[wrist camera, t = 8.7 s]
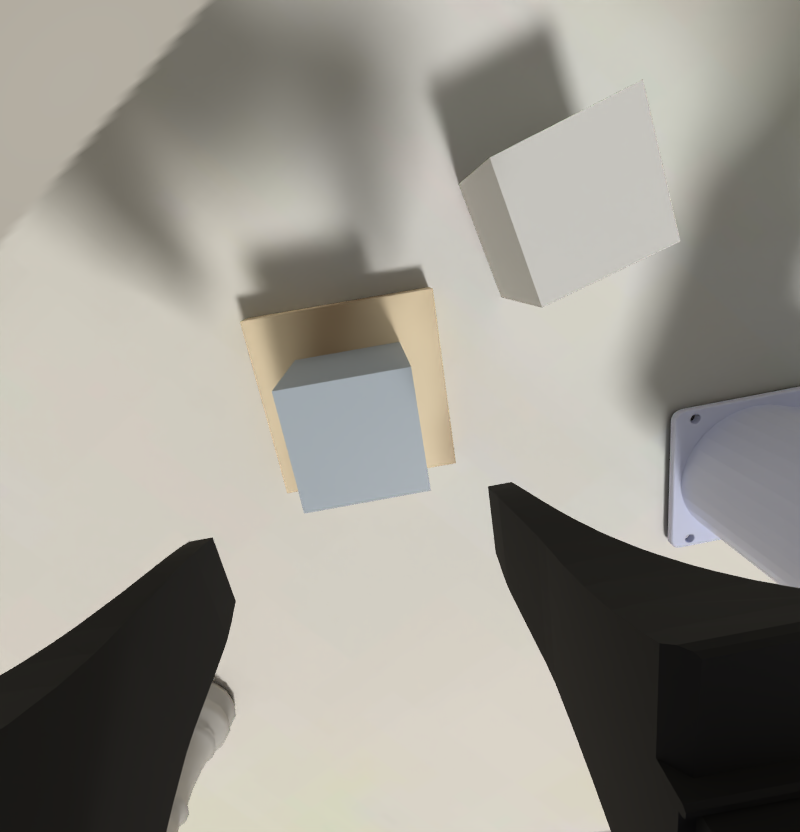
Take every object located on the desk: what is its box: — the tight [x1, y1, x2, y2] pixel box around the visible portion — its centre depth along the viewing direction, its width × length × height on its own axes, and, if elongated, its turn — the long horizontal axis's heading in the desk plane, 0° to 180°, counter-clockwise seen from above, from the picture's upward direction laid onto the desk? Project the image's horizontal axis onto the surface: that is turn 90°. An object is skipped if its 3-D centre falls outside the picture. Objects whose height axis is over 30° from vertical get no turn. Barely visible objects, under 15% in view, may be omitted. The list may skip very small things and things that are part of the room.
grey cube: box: [459, 79, 680, 307], centre depth 17 cm, size 5×5×5 cm
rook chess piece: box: [167, 682, 236, 832], centre depth 23 cm, size 4×4×8 cm
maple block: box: [240, 287, 456, 493], centre depth 21 cm, size 8×8×2 cm
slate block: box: [272, 342, 431, 513], centre depth 17 cm, size 4×4×5 cm
